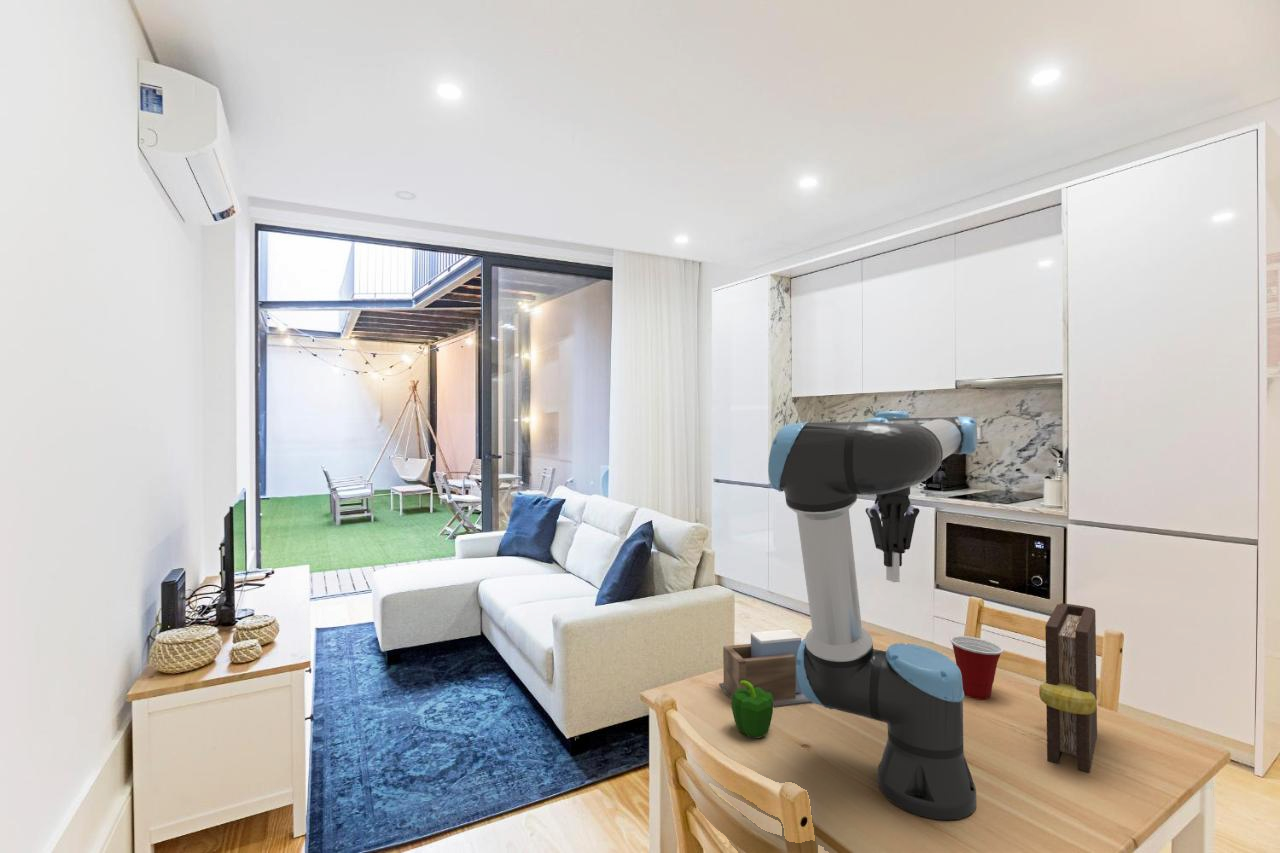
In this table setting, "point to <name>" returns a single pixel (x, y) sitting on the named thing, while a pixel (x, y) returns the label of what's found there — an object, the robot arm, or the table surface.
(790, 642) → the white box
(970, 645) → the plastic cup
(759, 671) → the housing
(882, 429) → the robot arm
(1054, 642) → the book
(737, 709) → the bell pepper
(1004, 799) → the table surface
